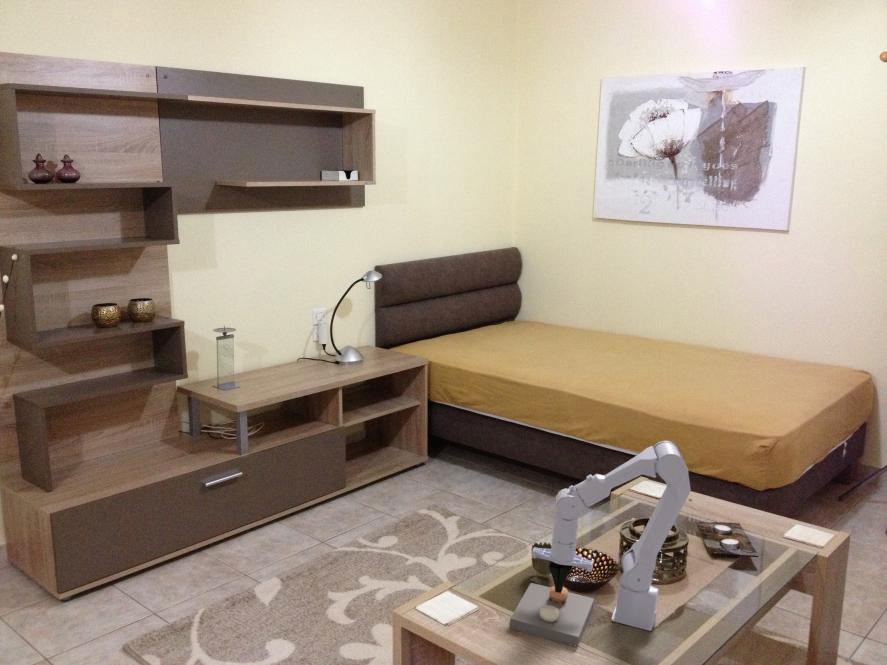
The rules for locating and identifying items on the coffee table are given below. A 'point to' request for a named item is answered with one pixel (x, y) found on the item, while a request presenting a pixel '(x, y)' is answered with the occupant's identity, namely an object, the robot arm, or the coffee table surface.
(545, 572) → the cup
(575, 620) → the button panel
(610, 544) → the coffee table surface
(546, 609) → the white rounded piece
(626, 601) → the robot arm
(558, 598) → the terracotta button
